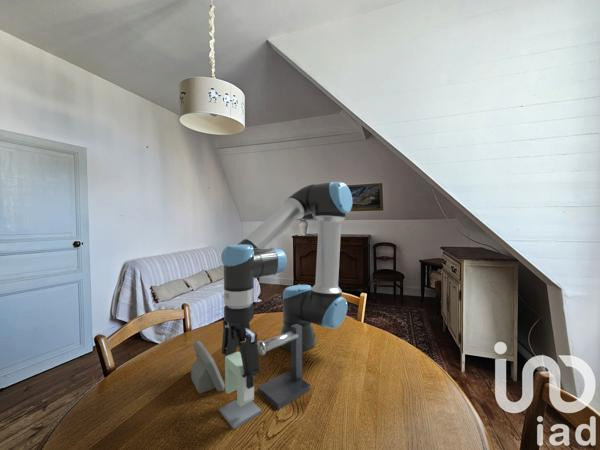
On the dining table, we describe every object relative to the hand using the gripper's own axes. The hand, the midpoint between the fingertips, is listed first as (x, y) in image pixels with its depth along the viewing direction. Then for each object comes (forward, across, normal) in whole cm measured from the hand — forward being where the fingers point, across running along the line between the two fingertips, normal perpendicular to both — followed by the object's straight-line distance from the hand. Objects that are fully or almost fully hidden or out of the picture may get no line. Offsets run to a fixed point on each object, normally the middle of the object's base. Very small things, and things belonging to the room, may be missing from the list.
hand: (239, 390), depth 69 cm
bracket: (+1, 0, 0) cm, 1 cm away
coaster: (+6, 0, 0) cm, 6 cm away
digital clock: (+6, -19, 0) cm, 20 cm away
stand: (+6, +1, +13) cm, 14 cm away
